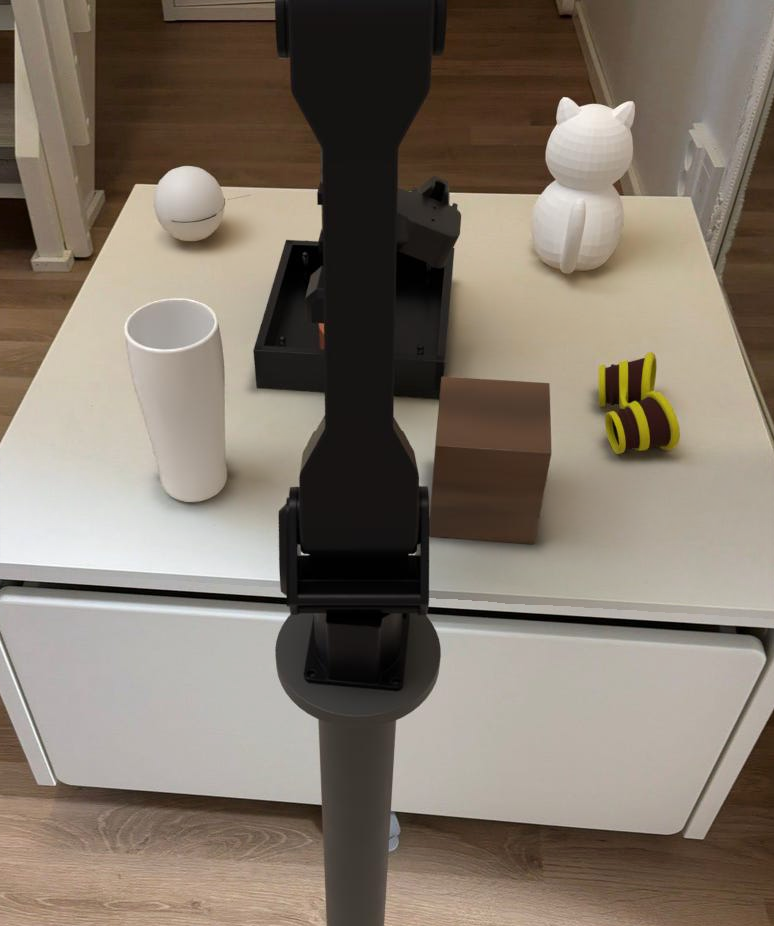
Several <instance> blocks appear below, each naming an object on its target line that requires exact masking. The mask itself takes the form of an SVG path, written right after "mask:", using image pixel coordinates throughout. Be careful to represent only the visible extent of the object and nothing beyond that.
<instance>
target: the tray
mask: <svg viewBox="0 0 774 926" xmlns="http://www.w3.org/2000/svg"><path fill="white" fill-rule="evenodd" d="M454 258H455V247H453V249H452V251H451V254H450V256H449V258H448V260H447V262H446V264H445V266H444V267H443V268H434V267H431V266H429V265H428V264H427V263H426V262H424V261H421V260H419V259H416V258H414V257H411V256H408V255H406V254H403V253H401V252H399V251H397V250H396V303H395V359H394V398H411V399H425V400H426V399H428V400H439V396H440V385H441V377H445V368H446V356H447V345H448V333H449V319H450V307H451V296H452V285H453V271H454V261H455V259H454ZM321 266H323V252H319V246H318V240H299V239H285V241H284V245H283V249H282V252H281V255H280V258H279V262H278V265H277V268H276V272H275V275H274V279H273V283H272V285H271V290H270V292H269V296H268V299H267V303H266V305H265V309H264V313H263V317H262V319H261V323H260V326H259V329H258V334H257V337H256V340H255V343H254V347H253V350H252V351H253V362H254V375H255V386H256V389H268V390H269V389H270V390H285V391H300V392H315V393H316V392H318V393H325V371H324V349H320V347H319V323H311V322H310V321H309V320H307V319H306V306H305V297H306V293H307V289H308V285H309V281H310V277H311V275H312V274H313V273H314V272H316V271H317V270H318V269H319V268H320V267H321Z"/></svg>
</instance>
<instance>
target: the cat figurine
mask: <svg viewBox="0 0 774 926" xmlns="http://www.w3.org/2000/svg"><path fill="white" fill-rule="evenodd" d="M635 115H636V104H635V102H634V101H632V100H628V101H625V102H623V103H621V104H619V105H618V106H617V107H615V108H612V107H609V106H607V105H604V104H600V103H589V104H585V105H581V106H579V105H578V104H577V103H576V102H575V101H574V100H572V99H571V98H570V97H565V96H563V97H562V98H561V99H560V100H559V103H558V105H557V110H556V117H555V119H556V124H555V126H554V128H553V129H552V131H551V133H550V136H549V138H548V140H547V144H546V147H545V148H546V149H545V163H546V166H547V169H548V171H549V174H551V176H552V177H553V179H554V180H553V181H552V182H550V183H549V185H548V186H546V187H545V189H544V190H543V191H542V192H541V194H540V195H539V196H538V198H537V200H536V202H535V203H534V206H533V209H532V212H531V219H530V235H531V241H532V245H533V247H534V249H535V252H536V254H537V255H538V257H539V259H540V260H541V261H542V262H543V263H545V264H546V265H547V266H549V267H551V268H553V269H557V270H560V271H561V272H562V273H564V274H572V273H573V272H574V271H579V272H580V271H581V272H582V271H584V272H585V271H586V272H588V271H591V270H595V269H597V268H599V267H601V266H602V265H603V264H604V263H606V261H607V260H608V259H609V258H610V257H611V256H612V254H613V253H614V252H615V250H616V248H617V246H618V244H619V242H620V239H621V237H622V233H623V230H624V224H625V209H624V204H623V201H622V197H621V196H620V193H619V192H618V191H617V189H616V188H615V186H614V184H615V183H616V182H618V181H619V180H620V179H621V178H622V177H623V176H624V175H625V174H626V173H627V171H628V170H629V168H630V166H631V163H632V160H633V155H634V142H633V134H632V130H631V128H632V126H633V124H634V120H635Z"/></svg>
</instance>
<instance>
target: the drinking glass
mask: <svg viewBox="0 0 774 926" xmlns="http://www.w3.org/2000/svg"><path fill="white" fill-rule="evenodd" d="M123 333H124V334H123V335H124V341H125V342H124V343H125V349H126V356H127V361H128V367H129V372H130V375H131V380H132V384H133V387H134V392H135V394H136V398H137V401H138V405H139V408H140V411H141V414H142V418H143V421H144V423H145V427H146V431H147V435H148V438H149V442H150V445H151V448H152V451H153V455H154V459H155V462H156V465H157V469H158V475H159V480H160V484H161V486H162V489H163V490H164V491H165V493H166V494H167V495H168V496H169V497H171V498H173V499H175V500H177V501H181V502H185V503H197V502H198V503H199V502H202V501H207V500H209V499H211V498H213V497H215V496H217V495H218V494H219V493H220V492H221V491H222V490H223V489H224V487H225V486H226V483H227V479H228V467H227V458H226V457H227V456H226V455H227V454H226V374H225V357H224V348H223V341H222V336H221V335H222V334H221V329H220V321H219V318H218V315H217V314H216V312H215V311H214V309H212V308H211V307H210V306H209V305H207V304H205V303H203V302H201V301H198V300H196V299H191V298H182V297H171V298H162V299H158V300H155V301H151V302H149V303H146V304H143V305H142V306H140V307H138V308H137V309H135V310H134V311H133V312H132V313H131V314H130V315H129V316H128V317H127V319H126V320H125V323H124V326H123Z"/></svg>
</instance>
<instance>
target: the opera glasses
mask: <svg viewBox="0 0 774 926" xmlns="http://www.w3.org/2000/svg"><path fill="white" fill-rule="evenodd" d="M657 369H658V368H657V357H656V354H655V353H654V352H647V353H646V354H645V356H644V357H643V358H638V359H635V360H634V359H633V360H631V361H629V359H625V360H622V361H619V362H618V364H614V363H612V364H611V365H610V366H606V365H605V364H599V365H598V406H599V407H606V405H607V404H610V405H611V407H614V406H618V407H619V409H618V411H617V412H616V411H615V410H611V411H608V412H605V417H604V426H605V431H606V436H607V439H608V442H609V443H608V444H609V445H610V448H611V449H612V451H613V452H614V453H615V454H616V455H619V454H623V453H625V450H627V451H628V452H631V451H633V450H635V451H639V452H640V451H647V450H649V448H660V449H662V450H664V451H671V450H673V449H675V448H676V447H677V446H678V444H679V442H680V438H681V429H680V424H679V421H678V417H677V415H676V412H675V411H674V408H673V406H672V404H671V403H670V401H669V400H668V399H667V398H666V396H664V395H663V393H661V392H659V391H657V390H655V386H656V379H657Z"/></svg>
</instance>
